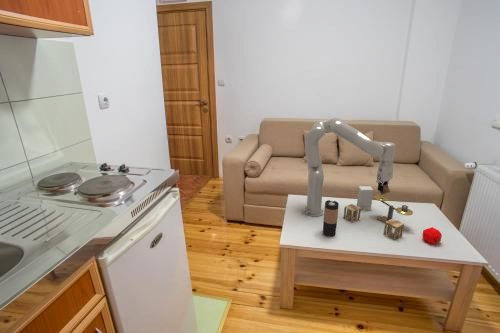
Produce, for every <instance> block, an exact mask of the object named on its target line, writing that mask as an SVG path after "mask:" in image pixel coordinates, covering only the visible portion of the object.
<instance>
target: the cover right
mask: <svg viewBox="0 0 500 333" xmlns="http://www.w3.org/2000/svg"><path fill="white" fill-rule="evenodd" d="M387 224H388V225H387ZM404 226H405V223H404V222H401V221H399V220H397V219H395V218H392V219H390V220H388V221H386V222H385V223H384V229H383V235H384V236H386V234H387V237H388V238H389V237H390V238H391V237H392V234H393V233H394V234H393V239H392V240H394V241H396V239H400V238H402V236H403V233H404ZM393 227H395V228H394V232H393ZM392 232H393V233H392Z"/></svg>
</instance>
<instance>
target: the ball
mask: <svg viewBox="0 0 500 333" xmlns="http://www.w3.org/2000/svg"><path fill="white" fill-rule="evenodd" d="M421 235H422V236H421V237H422V239H423V240H424V241H425V242H427V243H428V244H430V245H434V244H436V243H439V242H441V240H442V237H443V236H442V233H441V231H440V230H439V229H437V228H435V227H433V226H432V227H428V228H425V229H423V231H422V233H421Z"/></svg>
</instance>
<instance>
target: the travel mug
mask: <svg viewBox="0 0 500 333" xmlns="http://www.w3.org/2000/svg"><path fill="white" fill-rule="evenodd" d="M338 216H339V202H338V201H336V200H326V201H325V202H324V210H323V220H322V221H323V222H322V223H323V224H322V234H323V235H324V236H325V237H329V238H332V237H335V235H336V232H337V223H338V218H339V217H338Z"/></svg>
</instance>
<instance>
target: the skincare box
mask: <svg viewBox="0 0 500 333" xmlns="http://www.w3.org/2000/svg"><path fill="white" fill-rule="evenodd" d="M373 195H374V189H373V188H372V186H371V185H368V186H367V185H365V186H364V185H359V186H358V191H357V200H356V206H358V207H360V208H361V211H371V210H372V204H373V202H372V201H373Z"/></svg>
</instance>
